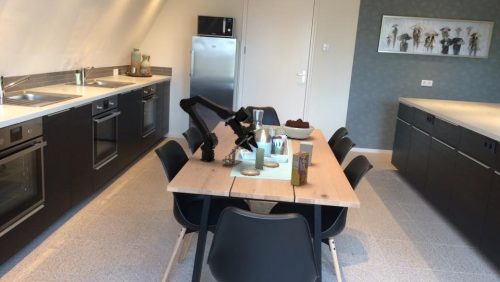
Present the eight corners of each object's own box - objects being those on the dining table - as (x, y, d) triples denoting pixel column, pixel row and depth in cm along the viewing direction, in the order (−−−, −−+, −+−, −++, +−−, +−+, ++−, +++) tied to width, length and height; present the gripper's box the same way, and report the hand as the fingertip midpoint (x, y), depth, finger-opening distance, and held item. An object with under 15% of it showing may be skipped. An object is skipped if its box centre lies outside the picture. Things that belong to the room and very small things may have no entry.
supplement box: (310, 166, 239) (312, 144, 236) (297, 164, 240) (299, 143, 237) (311, 163, 246) (313, 142, 243) (298, 161, 247) (300, 141, 245)
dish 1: (237, 173, 214) (237, 171, 214) (245, 169, 223) (246, 167, 223) (254, 177, 210) (254, 175, 210) (262, 172, 219) (263, 171, 218)
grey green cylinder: (253, 168, 225) (254, 149, 223) (257, 167, 229) (258, 147, 227) (261, 170, 223) (262, 150, 221) (264, 168, 227) (266, 148, 225)
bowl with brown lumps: (315, 142, 308) (317, 122, 305) (281, 140, 308) (283, 120, 305) (310, 136, 333) (312, 117, 330) (279, 133, 333) (281, 115, 330)
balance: (219, 166, 225) (220, 147, 223) (236, 159, 242) (237, 141, 240) (229, 168, 223) (230, 149, 221) (245, 161, 240) (246, 143, 238)
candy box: (299, 180, 209) (302, 151, 206) (307, 182, 206) (310, 152, 203) (289, 184, 202) (292, 153, 199) (297, 186, 199) (300, 155, 196)
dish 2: (258, 165, 233) (258, 163, 232) (265, 161, 241) (266, 160, 241) (275, 168, 228) (275, 167, 228) (281, 164, 237) (282, 163, 237)
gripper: (241, 120, 215) (260, 144, 213) (253, 116, 232) (271, 138, 231) (226, 133, 219) (245, 156, 217) (239, 128, 236) (256, 150, 235)
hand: (255, 150), depth 225 cm, fingers open, 9 cm apart
